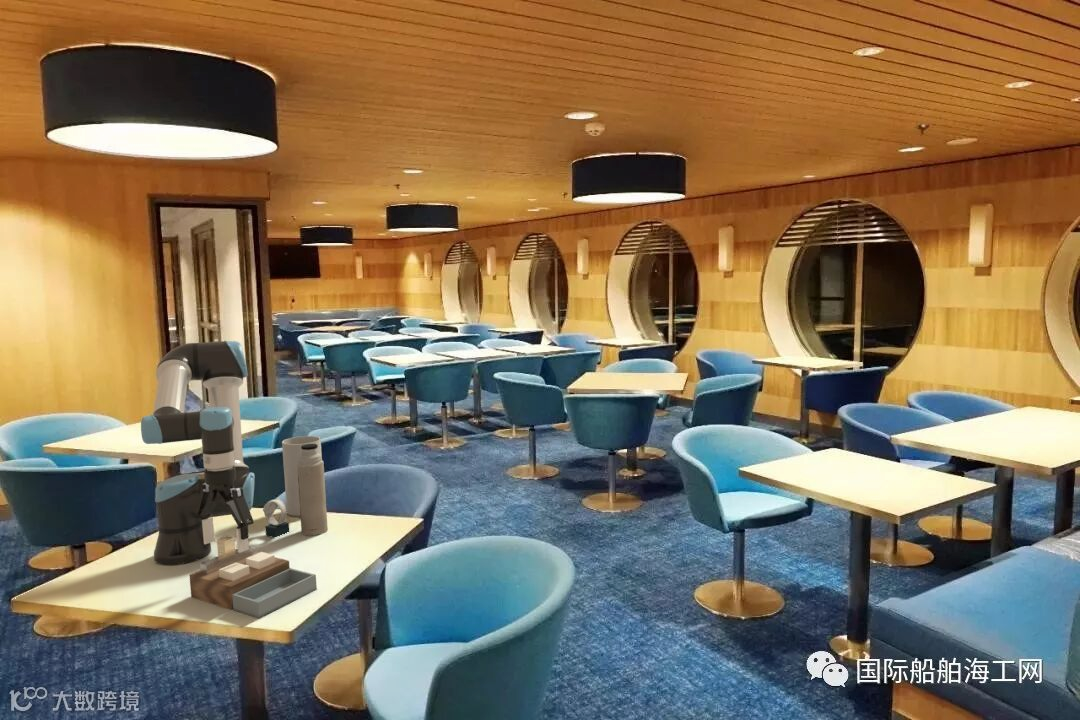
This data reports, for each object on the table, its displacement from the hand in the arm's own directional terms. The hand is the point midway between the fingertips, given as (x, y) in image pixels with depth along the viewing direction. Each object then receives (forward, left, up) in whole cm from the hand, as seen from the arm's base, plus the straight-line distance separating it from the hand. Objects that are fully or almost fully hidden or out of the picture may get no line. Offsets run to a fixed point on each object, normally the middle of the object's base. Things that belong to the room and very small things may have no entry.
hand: (226, 546), depth 194 cm
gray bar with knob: (0, 0, -5) cm, 5 cm away
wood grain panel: (+5, 0, -11) cm, 12 cm away
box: (+18, 0, -11) cm, 21 cm away
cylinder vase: (-29, +53, -11) cm, 62 cm away
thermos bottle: (-11, +40, -11) cm, 43 cm away
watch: (-20, +33, -11) cm, 40 cm away
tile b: (+8, +4, -5) cm, 10 cm away
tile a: (+8, -4, -5) cm, 10 cm away
